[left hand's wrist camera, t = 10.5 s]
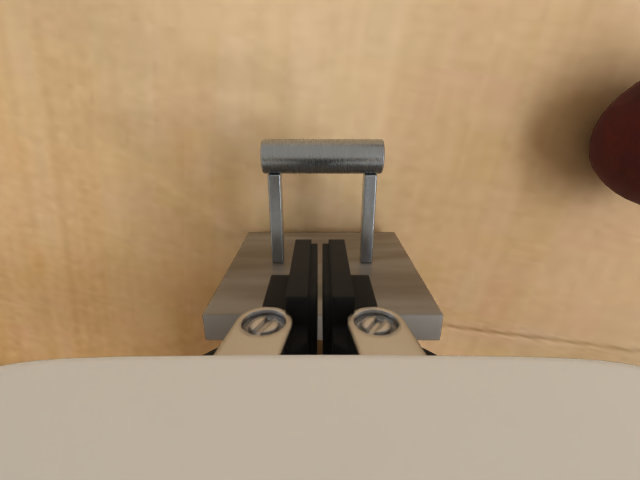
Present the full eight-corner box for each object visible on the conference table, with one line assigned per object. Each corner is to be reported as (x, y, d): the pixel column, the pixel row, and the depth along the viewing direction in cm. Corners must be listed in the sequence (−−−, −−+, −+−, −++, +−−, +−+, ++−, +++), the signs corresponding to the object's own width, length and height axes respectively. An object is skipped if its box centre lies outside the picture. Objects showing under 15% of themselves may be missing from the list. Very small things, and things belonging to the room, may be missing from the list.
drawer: (241, 132, 20) (179, 152, 11) (402, 132, 20) (467, 152, 11) (263, 420, 28) (236, 567, 19) (379, 420, 28) (407, 567, 19)
